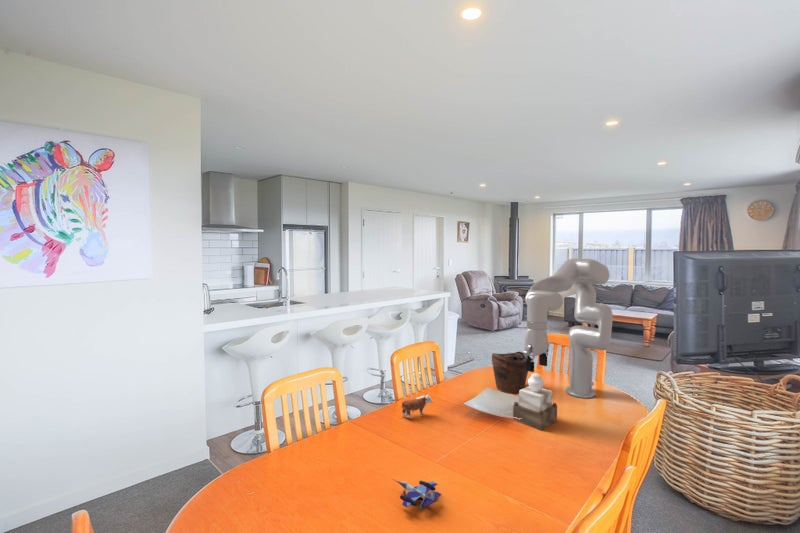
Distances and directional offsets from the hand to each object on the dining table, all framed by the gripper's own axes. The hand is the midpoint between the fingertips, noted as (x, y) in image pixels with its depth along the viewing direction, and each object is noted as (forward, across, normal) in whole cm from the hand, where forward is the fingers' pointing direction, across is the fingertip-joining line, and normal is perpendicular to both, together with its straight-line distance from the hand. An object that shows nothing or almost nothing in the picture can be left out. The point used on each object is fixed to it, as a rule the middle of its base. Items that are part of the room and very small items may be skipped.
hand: (536, 368), depth 157 cm
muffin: (+9, +1, 0) cm, 9 cm away
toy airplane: (+20, +70, +4) cm, 73 cm away
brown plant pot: (+22, -22, -26) cm, 40 cm away
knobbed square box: (+21, +1, 0) cm, 21 cm away
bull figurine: (+20, +33, -34) cm, 52 cm away
